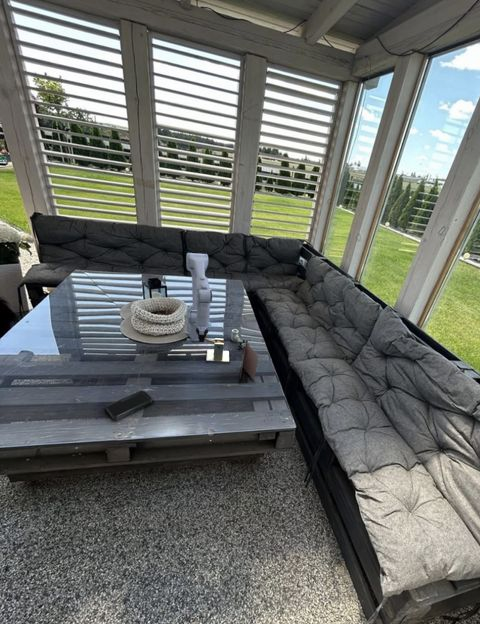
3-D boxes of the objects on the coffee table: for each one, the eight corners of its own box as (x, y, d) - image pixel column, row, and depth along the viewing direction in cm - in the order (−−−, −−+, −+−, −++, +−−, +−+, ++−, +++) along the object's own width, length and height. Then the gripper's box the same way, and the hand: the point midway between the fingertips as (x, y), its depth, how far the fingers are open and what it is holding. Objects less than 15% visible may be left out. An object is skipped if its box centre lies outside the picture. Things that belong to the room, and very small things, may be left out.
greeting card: (240, 367, 141) (244, 342, 133) (255, 369, 142) (259, 344, 133) (237, 382, 132) (241, 356, 123) (253, 384, 132) (258, 358, 124)
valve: (227, 340, 159) (237, 351, 152) (228, 329, 156) (238, 341, 148) (237, 337, 163) (248, 349, 155) (238, 327, 159) (249, 339, 151)
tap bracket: (206, 362, 140) (207, 345, 135) (207, 351, 147) (208, 335, 142) (228, 363, 142) (230, 347, 137) (228, 352, 149) (230, 337, 144)
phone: (153, 400, 113) (114, 418, 102) (153, 402, 113) (114, 421, 103) (142, 389, 116) (104, 406, 106) (143, 391, 117) (104, 408, 107)
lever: (196, 340, 136) (199, 335, 134) (197, 337, 138) (200, 331, 137) (220, 349, 140) (223, 344, 139) (220, 345, 143) (223, 341, 141)
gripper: (211, 323, 125) (209, 348, 132) (212, 308, 137) (211, 332, 144) (194, 321, 124) (194, 347, 131) (197, 306, 135) (196, 331, 143)
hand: (201, 339), depth 138 cm, fingers closed on lever, 3 cm apart
